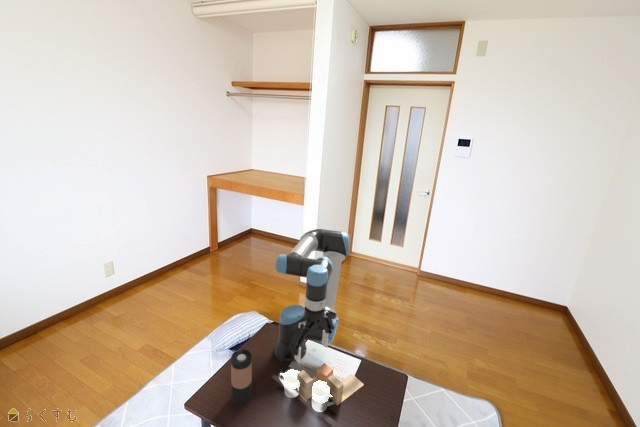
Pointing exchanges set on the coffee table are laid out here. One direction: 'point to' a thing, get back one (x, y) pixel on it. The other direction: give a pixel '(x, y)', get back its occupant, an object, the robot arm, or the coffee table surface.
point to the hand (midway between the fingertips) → (311, 352)
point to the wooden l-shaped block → (343, 387)
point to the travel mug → (241, 377)
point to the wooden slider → (305, 385)
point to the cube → (324, 372)
